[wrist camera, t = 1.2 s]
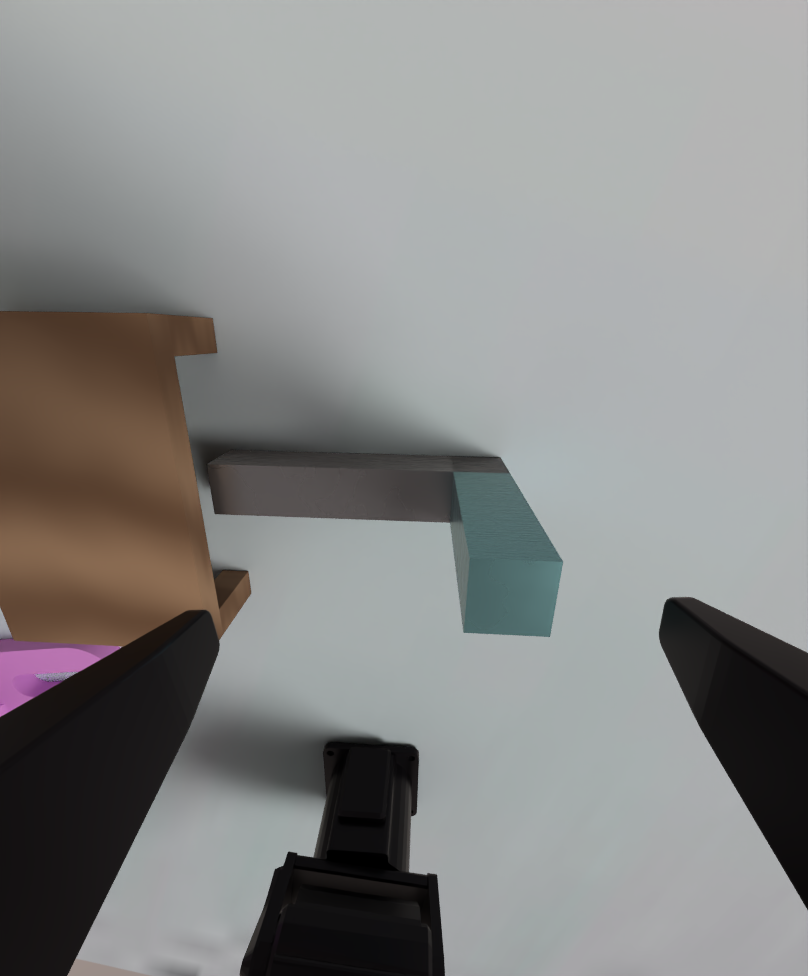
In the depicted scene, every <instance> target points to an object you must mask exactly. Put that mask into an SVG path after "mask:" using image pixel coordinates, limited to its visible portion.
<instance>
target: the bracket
mask: <svg viewBox="0 0 808 976" xmlns="http://www.w3.org/2000/svg"><path fill="white" fill-rule="evenodd" d="M118 649H120V647H118V646H104V645H85V644H66V643H47V642H28V641H14V639H1V640H0V717H1V716H3V715H4V714H6V713H8V712H10V711H11V710H13V709H15V708H17V707H18V706H20V705H22V704H24V703H25V702H27V701H29V700H31V699H32V698H34V697H36V696H38V695H39V694H41V693H43V692H45V691H46V690H48V689H50V688H52V687H53V686H55V685H57V684H59V683H60V682H62V681H54V682H47V681H43V680H41V679H39V678H37V677H36V676H35V675H34V674H43V673H59V672H80V671H81V670H83V669H85V668H87V667H88V666H90V665H92V664H94V663H95V662H97V661H99V660H101V659H102V658H104V657H106V656H108V655H110V654H111V653H113V652H115V651H117V650H118Z"/></svg>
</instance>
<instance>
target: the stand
mask: <svg viewBox="0 0 808 976" xmlns="http://www.w3.org/2000/svg"><path fill="white" fill-rule="evenodd" d="M208 353H217V346H216V339H215V332H214V325H213V318H201V317H188V316H176V315H163V314H151V313H97V312H22V311H0V607H1V610H2V612H3V615H4V617H5V620H6V622H7V625H8V627H9V630H10V632H11V634H12V637H13V639H14V641H28V642H47V643H66V644H85V645H104V646H123V647H124V646H125V645H127V644H129V643H131V642H132V641H134V640H136V639H138V638H139V637H141V636H143V635H145V634H146V633H148V632H150V631H152V630H153V629H155V628H157V627H159V626H160V625H162V624H164V623H166V622H167V621H169V620H171V619H173V618H174V617H176V616H178V615H180V614H181V613H183V612H185V611H188V610H208V611H209V612H210V613H211V615H212V618H213V622H214V625H215V628H216V631H217V635H218V638H219V640H220V638H221V637H222V635H223V634H224V632H225V631H226V629H227V628H228V627H229V625H230V624H231V622H232V621H233V619H234V618H235V616H236V615H237V613H238V612H239V610H240V609H241V608H242V606H243V605H244V603H245V602H246V600H247V599H248V597H249V596H250V594H251V588H250V580H249V573H248V571H229V570H223V571H222V572H221V573H220V574H219V575H218V576H217V578H216V579H215V580H214V578H213V572H212V567H211V561H210V555H209V550H208V544H207V538H206V533H205V527H204V522H203V516H202V510H201V505H200V499H199V493H198V488H197V482H196V476H195V471H194V465H193V459H192V454H191V448H190V442H189V437H188V431H187V426H186V420H185V414H184V409H183V403H182V397H181V392H180V386H179V380H178V375H177V369H176V363H175V358H174V356H184V355H196V354H208Z"/></svg>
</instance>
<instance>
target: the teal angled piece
mask: <svg viewBox="0 0 808 976" xmlns="http://www.w3.org/2000/svg"><path fill="white" fill-rule="evenodd" d="M207 470H208V476H209V482H210V488H211V494H212V500H213V506H214V512H215V514H229V515H256V516H284V517H311V518H339V519H366V520H394V521H421V522H449V523H450V525H451V533H452V542H453V550H454V558H455V566H456V575H457V583H458V591H459V599H460V608H461V616H462V624H463V632H464V633H482V634H503V635H523V636H544V637H550V634H551V628H552V622H553V616H554V611H555V605H556V599H557V594H558V588H559V582H560V577H561V571H562V565H563V561H562V559H561V558H560V556H559V554H558V553H557V551H556V549H555V548H554V546H553V544H552V543H551V541H550V539H549V538H548V536H547V534H546V533H545V531H544V529H543V528H542V526H541V524H540V523H539V521H538V519H537V518H536V516H535V514H534V513H533V511H532V509H531V508H530V506H529V504H528V503H527V501H526V499H525V498H524V496H523V494H522V493H521V491H520V489H519V488H518V486H517V484H516V483H515V481H514V479H513V478H512V476H511V474H510V473H509V471H508V469H507V468H506V466H505V464H504V463H503V461H502V459H501V458H498V457H464V456H429V455H394V454H360V453H325V452H291V451H256V450H230V451H228V452H227V453H225V454H223V455H221V456H220V457H218V458H216V459H215V460H213V461H211V462H209V463H208V464H207Z"/></svg>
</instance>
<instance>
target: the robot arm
mask: <svg viewBox="0 0 808 976" xmlns="http://www.w3.org/2000/svg"><path fill="white" fill-rule="evenodd" d="M659 639H660V643H661V646H662V648H663V651H664V653H665V655H666V657H667V659H668V661H669V663H670V665H671V668H672V670H673V672H674V674H675V676H676V678H677V680H678V683H679V685H680V687H681V689H682V691H683V693H684V695H685V698H686V700H687V702H688V704H689V706H690V708H691V710H692V712H693V714H694V716H695V718H696V720H697V722H698V724H699V726H700V728H701V730H702V732H703V733H704V735H705V737H706V739H707V740H708V742H709V744H710V746H711V747H712V749H713V751H714V752H715V754H716V756H717V757H718V759H719V761H720V762H721V764H722V766H723V768H724V769H725V771H726V773H727V774H728V776H729V778H730V779H731V781H732V783H733V784H734V786H735V788H736V790H737V791H738V793H739V795H740V796H741V798H742V800H743V801H744V803H745V805H746V806H747V808H748V810H749V811H750V813H751V815H752V817H753V818H754V820H755V822H756V823H757V825H758V827H759V828H760V830H761V832H762V833H763V835H764V837H765V839H766V840H767V842H768V844H769V845H770V847H771V849H772V850H773V852H774V854H775V855H776V857H777V859H778V861H779V862H780V864H781V866H782V867H783V869H784V871H785V872H786V874H787V876H788V877H789V879H790V881H791V883H792V884H793V886H794V888H795V889H796V891H797V893H798V894H799V896H800V898H801V899H802V901H803V903H804V905H805V906H806V908H807V910H808V653H807V652H805V651H803V650H801V649H799V648H797V647H794V646H792V645H790V644H788V643H786V642H784V641H782V640H780V639H778V638H776V637H774V636H772V635H770V634H767V633H765V632H763V631H761V630H759V629H757V628H755V627H753V626H751V625H749V624H747V623H745V622H743V621H741V620H738V619H736V618H734V617H732V616H730V615H728V614H726V613H724V612H722V611H720V610H718V609H716V608H714V607H711V606H709V605H707V604H705V603H703V602H701V601H699V600H697V599H695V598H692V597H672V598H669V599H667V600H666V602H665V604H664V609H663V614H662V619H661V624H660V629H659ZM219 646H220V644H219V638H218V635H217V631H216V628H215V625H214V622H213V618H212V615H211V613H210V612H209V611H208V610H188V611H185V612H183V613H181V614H180V615H178V616H176V617H174V618H173V619H171V620H169V621H167V622H166V623H164V624H162V625H160V626H159V627H157V628H155V629H153V630H152V631H150V632H148V633H146V634H145V635H143V636H141V637H139V638H138V639H136V640H134V641H132V642H131V643H129V644H127V645H125V646H124V647H122V648H120V649H118V650H117V651H115V652H113V653H111V654H110V655H108V656H106V657H104V658H102V659H101V660H99V661H97V662H95V663H94V664H92V665H90V666H88V667H87V668H85V669H83V670H81V671H80V672H78V673H76V674H74V675H73V676H71V677H69V678H67V679H66V680H64V681H62V682H60V683H59V684H57V685H55V686H53V687H52V688H50V689H48V690H46V691H45V692H43V693H41V694H39V695H38V696H36V697H34V698H32V699H31V700H29V701H27V702H25V703H24V704H22V705H20V706H18V707H17V708H15V709H13V710H11V711H10V712H8V713H6V714H4V715H3V716H1V717H0V976H67V975H68V973H69V971H70V969H71V967H72V965H73V963H74V961H75V959H76V957H77V955H78V953H79V951H80V949H81V947H82V945H83V943H84V941H85V939H86V937H87V935H88V933H89V930H90V928H91V926H92V924H93V922H94V920H95V918H96V916H97V914H98V912H99V910H100V908H101V906H102V904H103V902H104V900H105V898H106V896H107V894H108V892H109V890H110V888H111V886H112V884H113V882H114V880H115V878H116V876H117V874H118V872H119V870H120V868H121V866H122V864H123V862H124V860H125V858H126V856H127V854H128V851H129V849H130V847H131V845H132V843H133V841H134V839H135V837H136V835H137V833H138V831H139V829H140V827H141V825H142V823H143V821H144V819H145V817H146V815H147V813H148V811H149V809H150V807H151V805H152V803H153V801H154V799H155V797H156V795H157V793H158V791H159V789H160V787H161V785H162V783H163V781H164V779H165V777H166V775H167V772H168V770H169V768H170V766H171V764H172V762H173V760H174V758H175V756H176V754H177V752H178V750H179V748H180V746H181V744H182V742H183V740H184V738H185V736H186V734H187V731H188V729H189V727H190V725H191V722H192V720H193V718H194V715H195V713H196V710H197V708H198V705H199V702H200V700H201V697H202V695H203V692H204V689H205V687H206V684H207V681H208V679H209V676H210V674H211V671H212V668H213V666H214V663H215V661H216V658H217V655H218V652H219ZM323 757H324V769H325V782H326V794H327V798H326V802H325V807H324V812H323V816H322V821H321V825H320V830H319V834H318V839H317V844H316V848H315V853H314V857H306V856H300V855H297V853H294V852H288V854H287V857H286V860H285V863H284V866H282V867H279V868H277V869H275V871H274V875H273V878H272V882H271V885H270V889H269V892H268V895H267V899H266V902H265V905H264V908H263V911H262V913H261V916H260V918H259V921H258V923H257V926H256V928H255V931H254V933H253V936H252V938H251V941H250V943H249V946H248V948H247V951H246V953H245V956H244V958H243V961H242V965H241V969H240V976H445V967H444V953H443V941H442V929H441V917H440V905H439V892H438V880H437V874H430V873H427V875H423V874H417V873H410V872H409V857H410V828H411V816H414V815H415V814H416V813H417V791H418V766H419V752H418V750H417V749H415V748H412V747H396V746H380V745H363V744H347V743H327V744H326V745H325V747H324V751H323Z"/></svg>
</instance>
